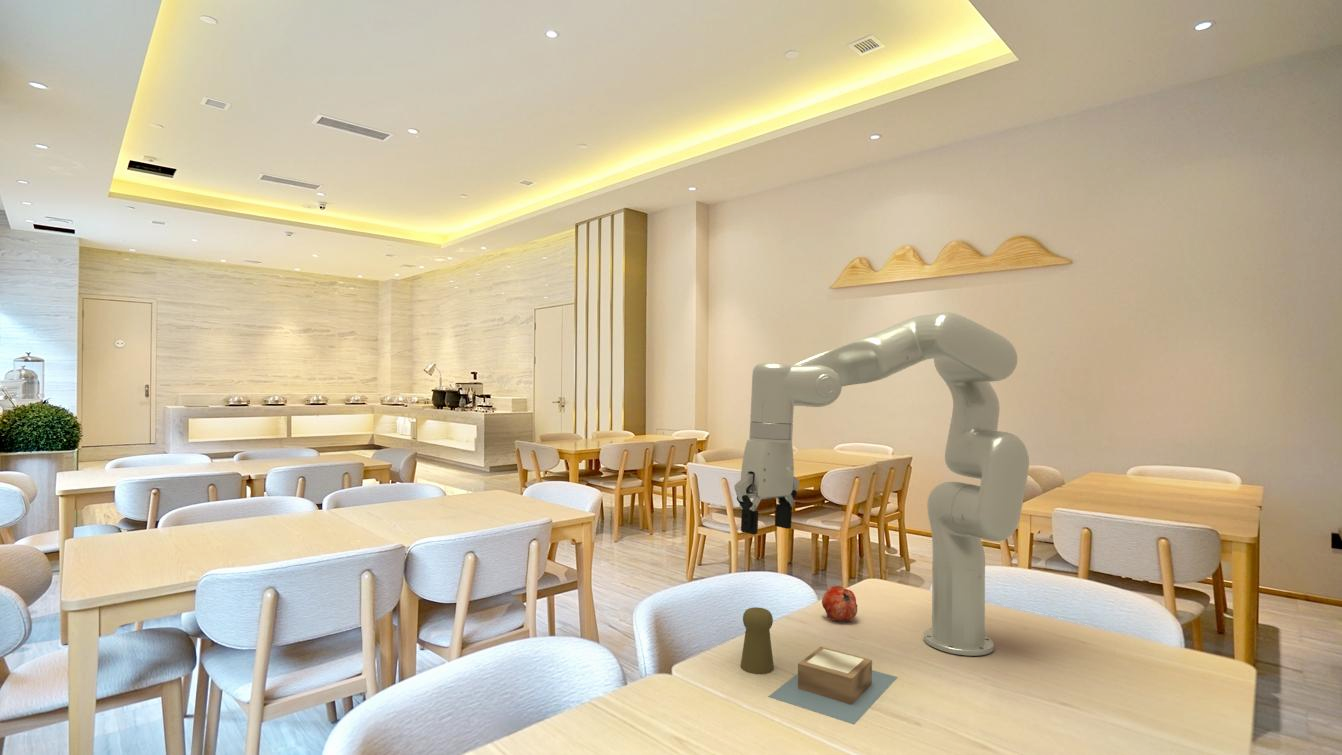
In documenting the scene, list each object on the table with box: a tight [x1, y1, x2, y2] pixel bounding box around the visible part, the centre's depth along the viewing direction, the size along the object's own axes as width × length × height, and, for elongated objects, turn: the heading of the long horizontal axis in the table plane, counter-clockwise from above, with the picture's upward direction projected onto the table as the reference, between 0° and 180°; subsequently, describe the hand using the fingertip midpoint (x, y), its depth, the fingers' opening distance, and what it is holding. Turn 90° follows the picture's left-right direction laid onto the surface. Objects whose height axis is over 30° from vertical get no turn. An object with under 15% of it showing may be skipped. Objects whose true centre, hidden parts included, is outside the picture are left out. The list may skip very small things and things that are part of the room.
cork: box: [740, 606, 775, 675], centre depth 115 cm, size 6×6×11 cm
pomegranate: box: [821, 585, 858, 622], centre depth 143 cm, size 7×7×10 cm
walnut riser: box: [797, 646, 873, 705], centre depth 107 cm, size 9×9×4 cm
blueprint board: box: [767, 669, 898, 725], centre depth 107 cm, size 20×14×1 cm
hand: (766, 530), depth 116 cm, fingers open, 9 cm apart
